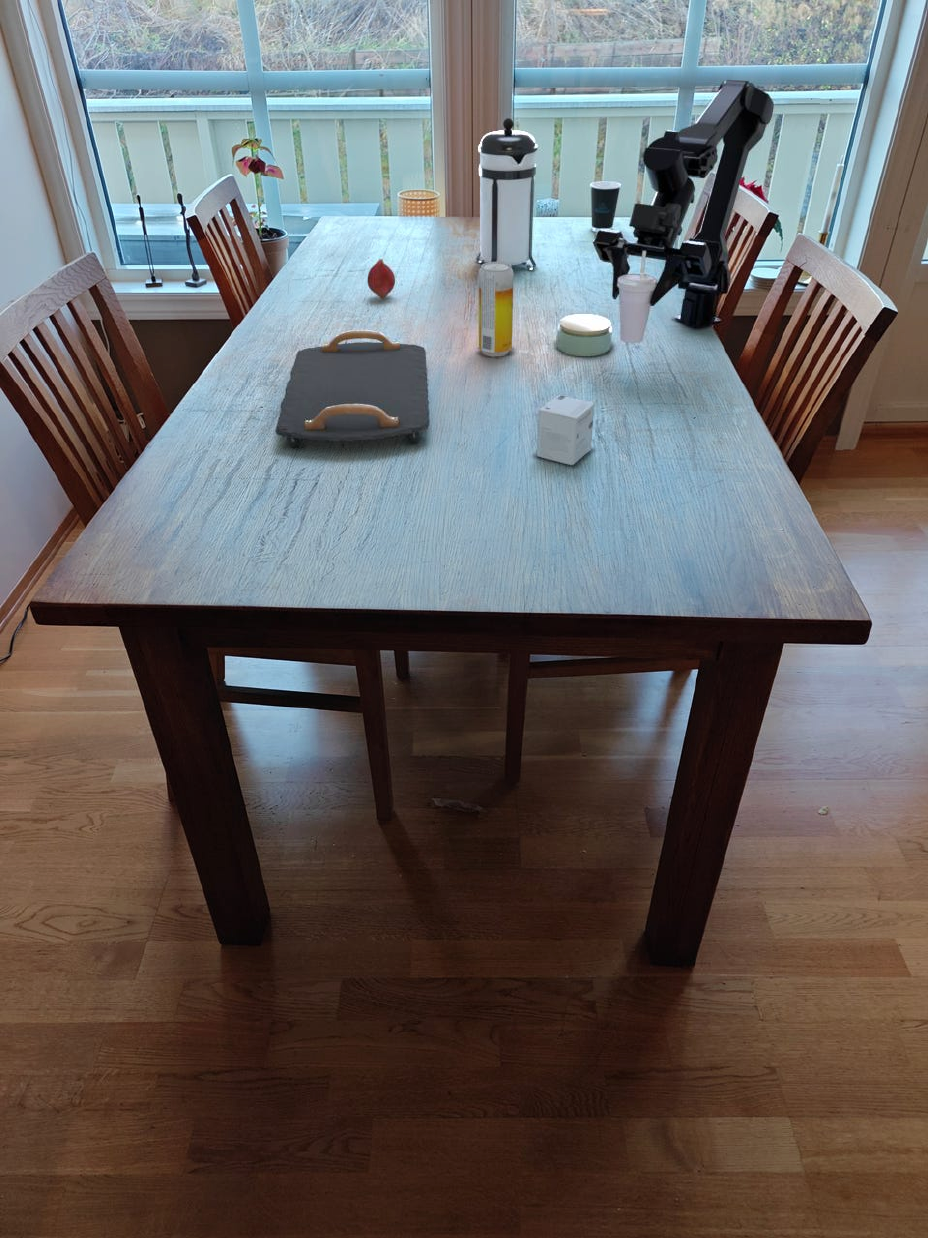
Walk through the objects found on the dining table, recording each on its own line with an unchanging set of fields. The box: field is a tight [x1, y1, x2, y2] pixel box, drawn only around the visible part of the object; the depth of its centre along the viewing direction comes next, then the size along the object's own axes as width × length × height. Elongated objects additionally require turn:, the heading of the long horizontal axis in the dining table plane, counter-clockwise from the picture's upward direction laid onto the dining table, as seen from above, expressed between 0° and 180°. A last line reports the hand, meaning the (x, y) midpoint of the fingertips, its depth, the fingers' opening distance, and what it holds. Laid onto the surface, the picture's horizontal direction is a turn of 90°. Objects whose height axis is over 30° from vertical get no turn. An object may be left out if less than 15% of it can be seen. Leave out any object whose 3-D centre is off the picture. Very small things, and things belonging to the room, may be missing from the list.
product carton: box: [536, 394, 595, 466], centre depth 120 cm, size 6×6×7 cm
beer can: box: [478, 262, 515, 357], centre depth 149 cm, size 6×6×15 cm
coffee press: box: [475, 117, 539, 271], centre depth 188 cm, size 17×16×30 cm
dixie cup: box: [589, 180, 622, 233], centre depth 217 cm, size 8×8×11 cm
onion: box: [367, 258, 396, 299], centre depth 176 cm, size 6×6×8 cm
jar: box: [555, 313, 613, 357], centre depth 154 cm, size 10×10×4 cm
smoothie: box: [617, 250, 659, 344], centre depth 135 cm, size 6×6×14 cm
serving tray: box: [275, 329, 430, 449], centre depth 135 cm, size 39×23×6 cm, turn 3°
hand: (632, 301), depth 135 cm, fingers closed on smoothie, 6 cm apart
